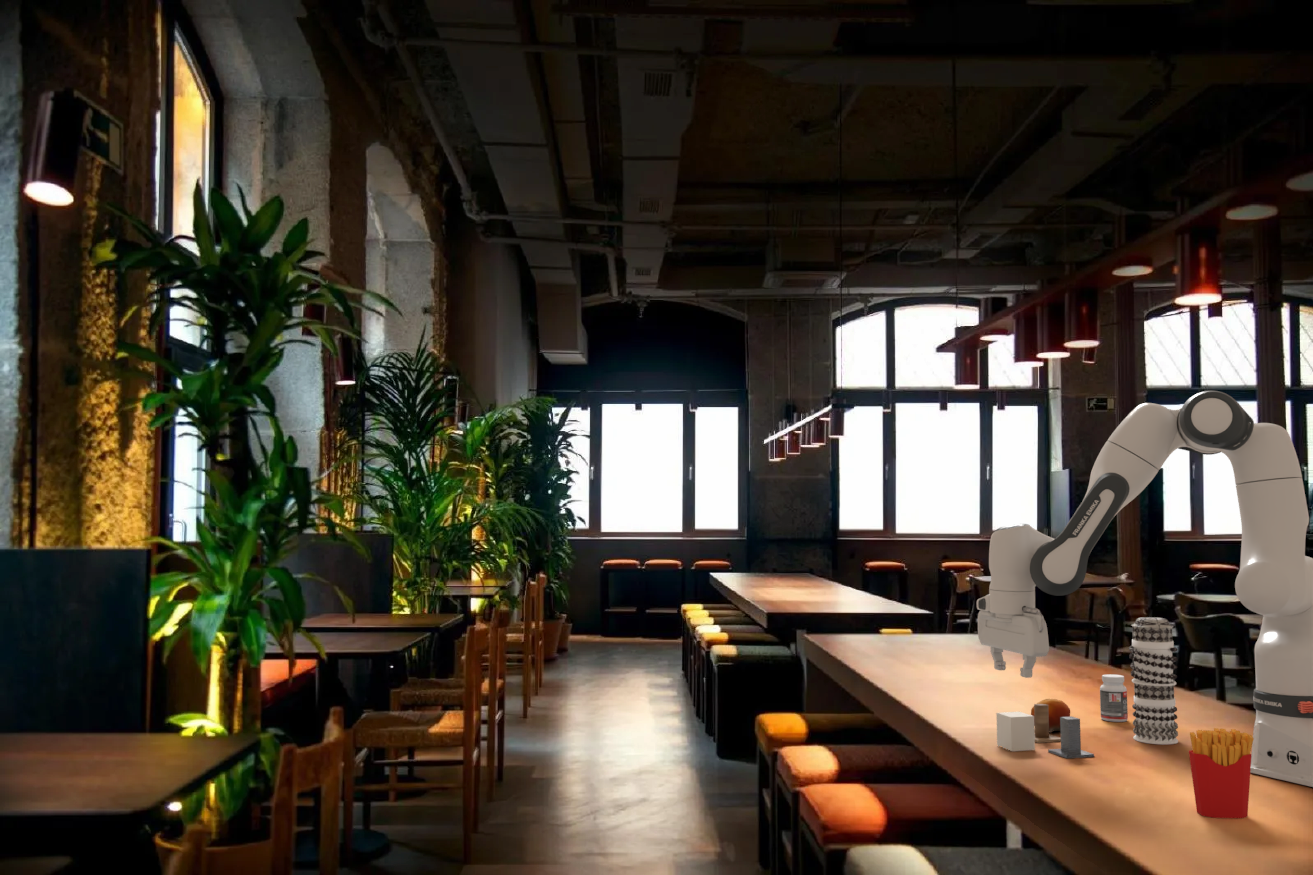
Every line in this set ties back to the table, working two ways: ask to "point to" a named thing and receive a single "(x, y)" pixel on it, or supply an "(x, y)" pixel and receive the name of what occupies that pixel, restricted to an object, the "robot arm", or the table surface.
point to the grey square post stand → (1070, 739)
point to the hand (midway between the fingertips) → (1012, 673)
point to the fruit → (1054, 712)
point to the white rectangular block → (1015, 731)
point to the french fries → (1221, 772)
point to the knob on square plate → (1043, 724)
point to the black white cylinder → (1153, 681)
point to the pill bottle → (1113, 699)
